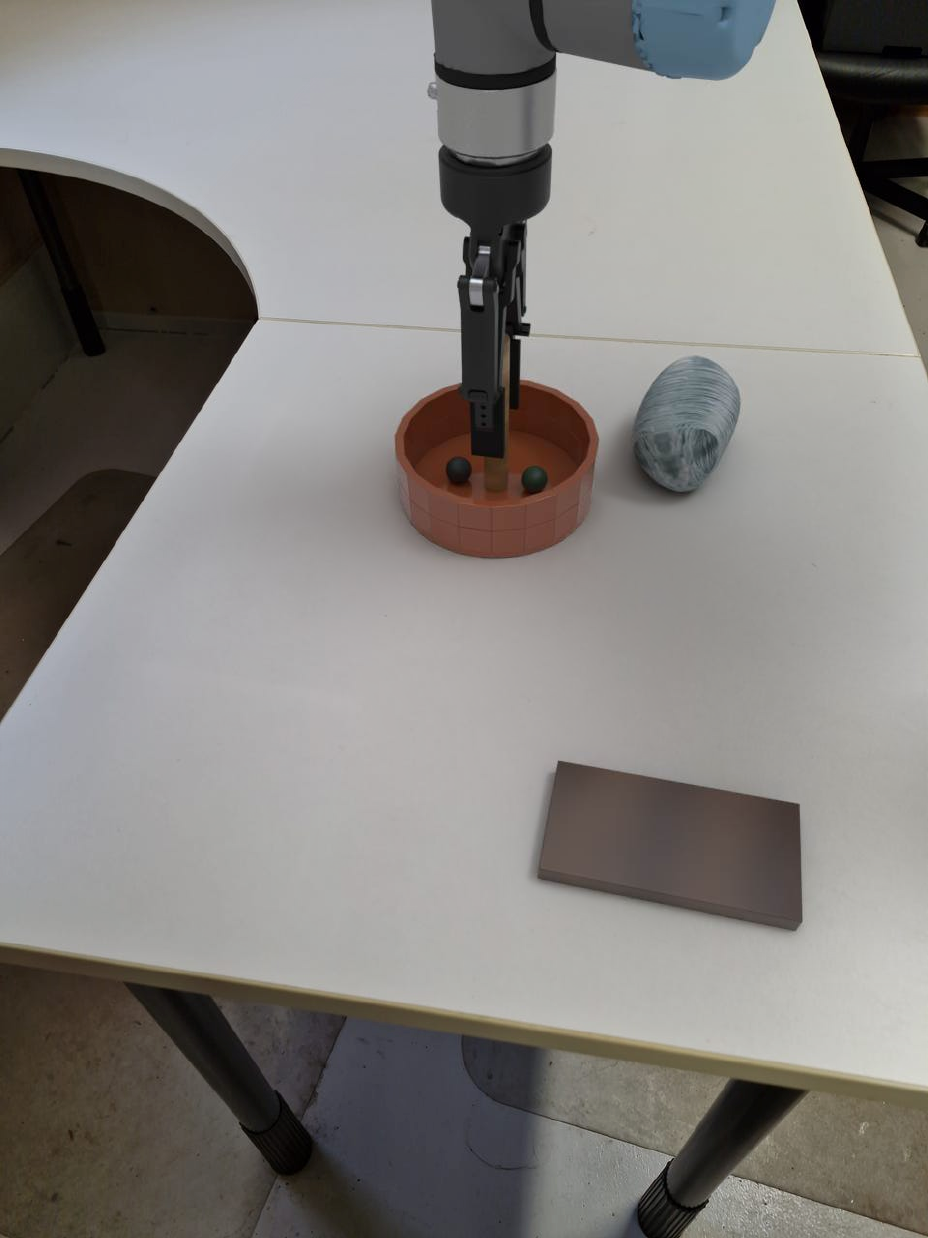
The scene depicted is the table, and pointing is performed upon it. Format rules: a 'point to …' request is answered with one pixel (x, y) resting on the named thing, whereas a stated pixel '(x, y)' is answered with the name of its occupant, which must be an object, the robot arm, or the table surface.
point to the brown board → (675, 844)
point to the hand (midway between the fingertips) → (496, 428)
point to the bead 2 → (534, 479)
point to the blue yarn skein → (686, 422)
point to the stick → (499, 467)
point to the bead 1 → (458, 469)
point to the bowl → (515, 516)
